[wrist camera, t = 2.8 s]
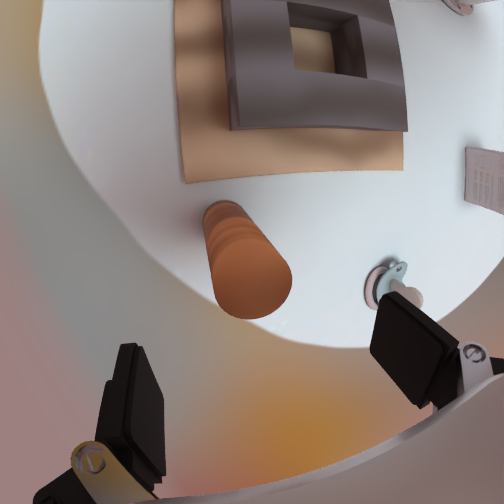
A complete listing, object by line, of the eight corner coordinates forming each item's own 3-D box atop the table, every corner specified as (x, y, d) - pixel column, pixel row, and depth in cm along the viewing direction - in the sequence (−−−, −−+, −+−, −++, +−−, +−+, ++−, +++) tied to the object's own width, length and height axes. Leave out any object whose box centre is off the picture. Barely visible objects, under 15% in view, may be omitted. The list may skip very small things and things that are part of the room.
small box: (481, 198, 31) (532, 218, 22) (463, 201, 30) (520, 223, 21) (482, 147, 28) (536, 160, 18) (464, 145, 27) (525, 158, 18)
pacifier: (365, 315, 33) (401, 297, 33) (389, 344, 28) (428, 321, 28) (360, 268, 30) (399, 250, 30) (390, 295, 25) (432, 272, 25)
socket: (175, -28, 14) (174, -62, 9) (377, -5, 18) (408, -21, 12) (185, 182, 23) (183, 194, 17) (397, 169, 26) (436, 178, 21)
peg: (200, 203, 24) (208, 255, 13) (245, 197, 24) (291, 243, 13) (205, 246, 25) (219, 325, 14) (248, 240, 26) (292, 311, 15)
